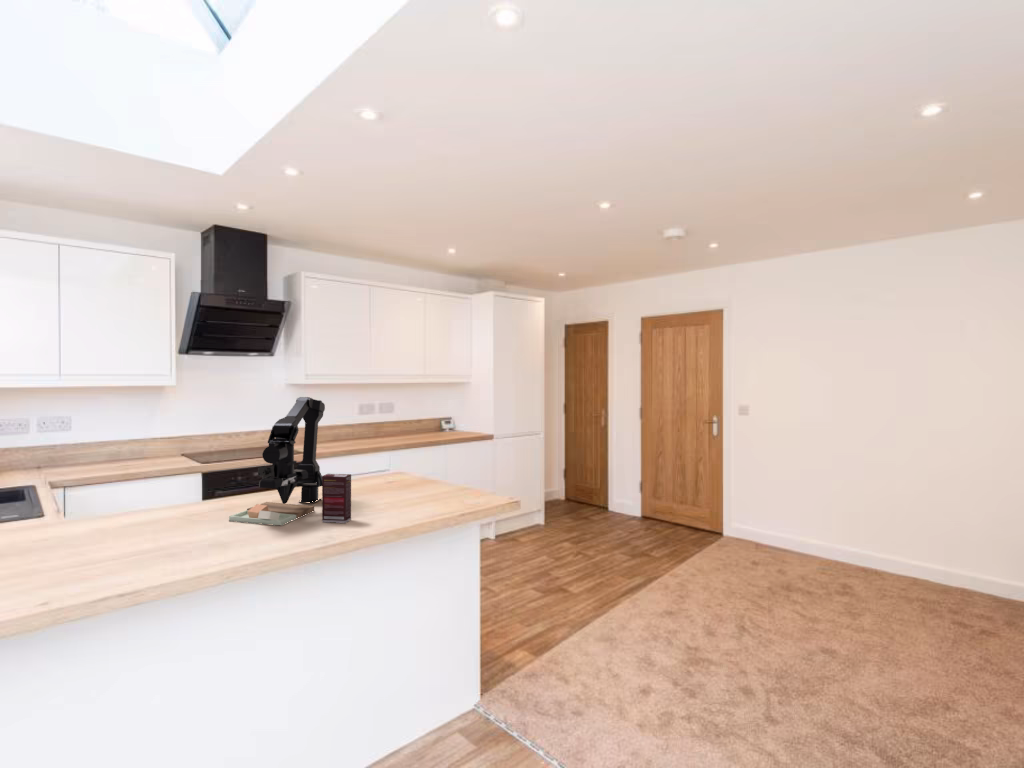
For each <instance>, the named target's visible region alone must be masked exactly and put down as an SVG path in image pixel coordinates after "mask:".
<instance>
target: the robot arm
mask: <svg viewBox="0 0 1024 768" xmlns="http://www.w3.org/2000/svg"><path fill="white" fill-rule="evenodd" d="M325 405H326V404H325V403H324V402H323V401H322V400H320V399H319V400H318V399H314V398H312V397H308V396H299V397H297V398H296V401H295V403H294V405H293V406H292V408H290V410H289V411H288V413H287V414H286V415H285V416H284V417H282V418H279V419H278V420H277V421H276V422H275V423H274V425H272V428H271V430H270V434H269V437H268V438H267V439H268V440H267V444H268V446H267V447H266V448H264V450H263V452H262V459H263V460H264V462H266V463H267V464H271V465H272V466H269V467H267V466H265V465H263V466H259V467H258V468H257V476H258V477H260V478H261V479H260V480H259V482H258V487H259V488H261V489H275V490H277V492H278V495H279V497H280V500H281V503H284V504H288V501H289V499H290V497H291V495H292V493H293V491H294V490H295V488H296V487H297V488H298V487H299V488H300V487H301V492H300V493H301V494H300V496H301V497H300V498H301V499H300V500H301V502H310V503H313V502H315V501H316V500H318V498H319V487H322V476H323V475H322V473H321V468H320V464H319V463H318V462H317V446H318V433H319V431H318V430H319V422H320V421H321V419H322V418H323V417H324V412H325V410H326V408H325V407H326V406H325ZM302 419H303V421H304V433H303V450H302V451H303V452H302V460H301V462H300V463H298V464H297V461H298V460H295V458H294V457H295V444H296V439H297V435H298V434H299V424H300V422H301V421H302ZM296 464H297V466H296V469H295V467H294V466H295V465H296ZM312 501H313V502H312ZM310 503H309V504H310ZM315 503H316V502H315ZM313 504H314V503H313Z"/></svg>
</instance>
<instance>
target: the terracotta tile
mask: <svg viewBox="0 0 1024 768" xmlns="http://www.w3.org/2000/svg"><path fill="white" fill-rule="evenodd" d="M260 504H261V503H260ZM260 504H259V503H256V504H255V505H254V506H252V508H251V507H250V508H251V509H250V510H248V511H247V512H248V515H249V518H258V515H259V512H260V511H269V509H268V505H260ZM258 519H259V518H258Z"/></svg>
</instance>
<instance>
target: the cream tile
mask: <svg viewBox="0 0 1024 768" xmlns="http://www.w3.org/2000/svg"><path fill="white" fill-rule="evenodd" d="M279 516H280V513H276V512H271V511H260V512H259V515H258V518H259V519H269V520H278V519H279Z"/></svg>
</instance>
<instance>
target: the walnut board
mask: <svg viewBox="0 0 1024 768" xmlns="http://www.w3.org/2000/svg"><path fill="white" fill-rule="evenodd" d="M260 505H268V509H269V511H271V512H276V513H282V514H293V515H296V518H298V517H301V516H303V515H305V514H308V513H310V512H312V511H314V512H315V505H304V504H295V503H285V504H284V503H282V502H281V503H280V502H270V501H266V502H263V503H260ZM252 507H253V506H252ZM252 507H248V508H246V510H250V509H251V508H252ZM312 513H313V512H312ZM310 514H311V513H310ZM308 515H309V514H308ZM305 516H306V515H305ZM303 517H304V516H303ZM301 518H302V517H301ZM298 519H299V518H298Z"/></svg>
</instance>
